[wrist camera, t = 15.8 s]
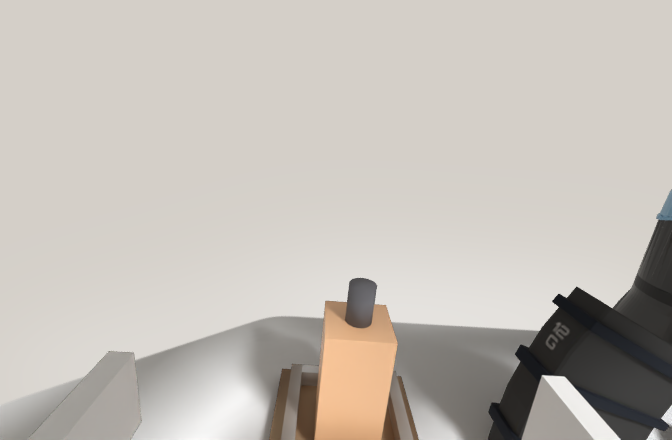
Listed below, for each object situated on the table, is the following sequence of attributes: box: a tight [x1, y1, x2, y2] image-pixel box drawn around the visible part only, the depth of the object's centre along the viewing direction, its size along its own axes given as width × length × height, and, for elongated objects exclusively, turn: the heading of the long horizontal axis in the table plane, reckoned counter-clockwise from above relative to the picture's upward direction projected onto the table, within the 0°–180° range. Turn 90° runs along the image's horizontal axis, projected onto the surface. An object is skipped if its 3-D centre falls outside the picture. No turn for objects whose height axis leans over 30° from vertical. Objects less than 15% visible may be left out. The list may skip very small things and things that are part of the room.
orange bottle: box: [314, 278, 398, 440], centre depth 27 cm, size 5×5×13 cm
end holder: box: [269, 364, 419, 440], centre depth 28 cm, size 12×12×2 cm
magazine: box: [488, 287, 672, 440], centre depth 27 cm, size 4×13×15 cm, turn 94°
